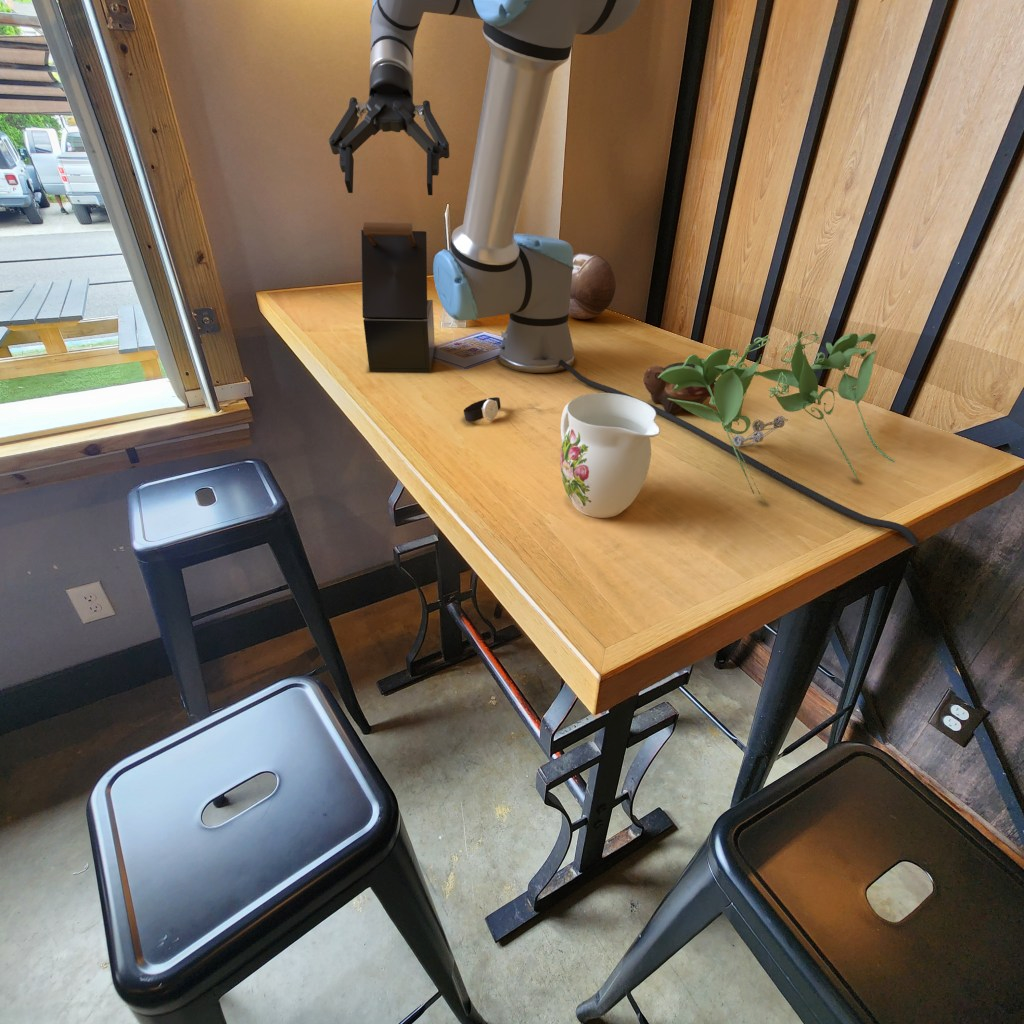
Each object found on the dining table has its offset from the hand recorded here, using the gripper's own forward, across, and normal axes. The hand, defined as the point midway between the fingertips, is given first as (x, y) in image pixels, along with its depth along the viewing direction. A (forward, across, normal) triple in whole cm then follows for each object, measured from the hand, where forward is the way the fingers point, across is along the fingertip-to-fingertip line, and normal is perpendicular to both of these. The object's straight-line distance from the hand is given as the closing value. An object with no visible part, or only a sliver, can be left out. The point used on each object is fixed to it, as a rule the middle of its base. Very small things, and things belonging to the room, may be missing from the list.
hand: (389, 188), depth 96 cm
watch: (+39, -16, -4) cm, 42 cm away
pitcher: (+57, -30, +14) cm, 66 cm away
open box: (+20, 0, -22) cm, 30 cm away
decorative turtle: (+36, -50, -6) cm, 62 cm away
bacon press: (+11, 0, -9) cm, 14 cm away
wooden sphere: (-1, -41, -44) cm, 60 cm away
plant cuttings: (+50, -58, +8) cm, 77 cm away
